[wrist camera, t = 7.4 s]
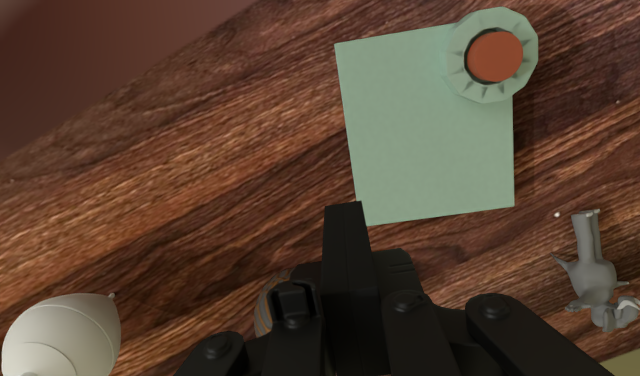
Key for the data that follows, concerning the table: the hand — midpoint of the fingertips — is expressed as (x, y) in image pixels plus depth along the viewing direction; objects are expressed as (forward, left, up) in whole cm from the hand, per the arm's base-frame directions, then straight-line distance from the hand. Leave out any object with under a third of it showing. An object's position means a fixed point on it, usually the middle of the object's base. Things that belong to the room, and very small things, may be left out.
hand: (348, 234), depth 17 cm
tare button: (-5, +11, -13) cm, 18 cm away
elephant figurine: (+12, +18, -17) cm, 27 cm away
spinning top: (+10, -22, -17) cm, 30 cm away
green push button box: (-1, +7, -16) cm, 18 cm away
